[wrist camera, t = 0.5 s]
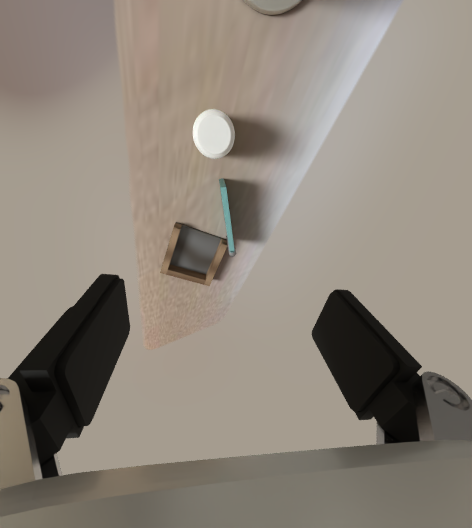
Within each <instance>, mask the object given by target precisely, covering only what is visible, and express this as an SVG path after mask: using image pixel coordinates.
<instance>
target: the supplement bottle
mask: <svg viewBox="0 0 472 528" xmlns="http://www.w3.org/2000/svg"><path fill="white" fill-rule="evenodd" d="M193 139H194V142H195V145H196V147H197V148H198V150H199V151H200V152H201V153H202V154H203V155H204V156H206V157H208V158H212V159H218V158H222V157H224V156H225V155H227V154H228V153H229V152H230V150H231V149H232V147H233V144H234V140H235V130H234V126H233V124H232V121H231V120H230V118H229V117H228V116H227V115H226V114H225V113H224V112H222V111H220V110H216V109H209V110H206V111H204V112H202V113H201V114H200V115H199V116H198V117H197V119H196V121H195V123H194V126H193Z"/></svg>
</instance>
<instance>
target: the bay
mask: <svg viewBox="0 0 472 528" xmlns="http://www.w3.org/2000/svg"><path fill="white" fill-rule="evenodd" d="M227 246H228V245H227V240H225V239H222V238H219V237H216V236H214V235H211V234H208V233H205V232H202V231H199V230H196V229H194V228H191V227H188V226H185V225H182V224H179V223H175V225H174V228H173V231H172V235H171V238H170V241H169V245H168V248H167V252H166V255H165V258H164V262H163V265H162V268H161V272H160V273H163V274H167V275H170V276H174V277H178V278H181V279H185V280H189V281H192V282H196V283H200V284H203V285H207V286H210V284H211V281H212V279H213V277H214V275H215V273H216V270H217V268H218V266H219V264H220V262H221V259H222V257H223V255H224V253H225V251H226V248H227Z"/></svg>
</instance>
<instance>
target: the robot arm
mask: <svg viewBox="0 0 472 528" xmlns="http://www.w3.org/2000/svg"><path fill="white" fill-rule="evenodd" d="M243 1H244V2H245V3H246V4H248V5H249V6H250V7H251V8H252V9H254V10H256V11H258V12H260V13H263V14H269V15H275V14H281V13H284V12H286V11H289V10H291V9H292V8H293V7H295V6H296V5H298V4H299V3H300V2H301V1H302V0H243ZM129 331H130V323H129V315H128V308H127V300H126V292H125V285H124V280H123V279H120V278H119V276H118V275H110V274H101V275H100V276H99V277H98V278H97V279H96V280H95V282H94V283H93V284H92V285H91V286H90V287H89V289H88V290H87V291H86V292H85V293H84V295H83V296H82V297H81V298H80V299H79V300H78V302H77V303H76V304H75V305H74V306H73V307H70V308H69V309H68V310H67V311H66V312H65V313H64V314H63V315H62V316H61V318H60V319H59V320H58V321H57V322H56V323H55V324H54V326H53V327H52V328H51V329H50V330H49V331H48V333H47V334H46V335H45V336H44V337H43V338H42V339H41V341H40V342H39V343H38V344H37V345H36V347H35V348H34V349H33V350H32V351H31V352H30V353H29V354H28V356H27V357H26V358H25V359H24V360H23V361H22V363H21V364H20V365H19V366H18V367H17V368H16V370H15V371H14V372H13V373H12V374H11V375H10V377H9V378H8V379H5V378H0V528H472V400H471V399H470V397H469V396H468V395H467V394H466V393H465V392H464V391H463V390H462V389H461V388H460V387H459V386H457V385H456V384H455V383H453V382H452V381H450V380H449V379H447V378H445V377H444V376H441V375H439V374H437V373H433V372H424V373H423V374H422V375H421V376H419V375H418V374H417V371H418V370H419V369H420V368H421V367H422V366H421V365H420V364H419V363H418V362H417V361H416V360H415V359H414V358H413V357H412V356H411V355H410V354H409V353H408V352H407V350H405V348H404V347H403V346H402V345H401V344H400V343H399V342H398V341H397V340H396V339H395V338H394V337H393V336H392V335H391V334H390V333H389V332H388V331H387V330H386V329H385V328H384V326H383V325H382V324H381V323H380V322H379V321H378V320H376V318H375V317H374V316H373V315H372V314H371V313H370V312H369V311H368V310H367V309H366V308H365V307H364V306H363V305H362V304H361V303H360V302H359V301H358V299H357V298H356V297H355V296H354V295H353V294H352V293H351V292H350V291H348V290H334V291H333V292H332V293H331V294H330V295H329V297H328V299H327V301H326V303H325V305H324V307H323V310H322V312H321V314H320V316H319V318H318V320H317V322H316V324H315V326H314V328H313V330H312V337H313V340H314V341H315V343H316V345H317V347H318V349H319V351H320V353H321V354H322V356H323V358H324V360H325V362H326V364H327V366H328V368H329V369H330V371H331V373H332V375H333V377H334V379H335V381H336V382H337V384H338V386H339V388H340V390H341V392H342V394H343V395H344V397H345V399H346V401H347V403H348V405H349V407H350V408H351V409H352V410H353V411H354V412H355V413H356V415H357V417H358V419H359V420H368V419H371V418H372V417H375V419H376V421H377V445H366V446H354V447H342V448H331V449H319V450H307V451H298V452H285V453H274V454H263V455H251V456H240V457H229V458H219V459H208V460H197V461H187V462H176V463H166V464H155V465H144V466H136V467H127V468H118V469H109V470H100V471H91V472H82V473H75V474H69V475H63V476H62V472H61V468H60V464H59V460H58V456H57V452H58V451H60V449H61V447H62V445H63V443H64V441H65V439H66V438H76V437H77V438H78V437H79V436H80V434H81V432H82V430H83V427H84V426H88V425H89V424H90V423H91V421H92V419H93V417H94V414H95V412H96V410H97V408H98V405H99V403H100V400H101V398H102V396H103V393H104V391H105V389H106V386H107V384H108V381H109V379H110V377H111V375H112V372H113V370H114V368H115V365H116V363H117V361H118V358H119V356H120V354H121V351H122V349H123V347H124V344H125V342H126V339H127V337H128V335H129Z"/></svg>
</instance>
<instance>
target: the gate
mask: <svg viewBox="0 0 472 528" xmlns="http://www.w3.org/2000/svg"><path fill="white" fill-rule="evenodd" d="M219 182H220V189H221V196H222V203H223V210H224V217H225V223H226V230H227V236H226V237H227V244H228V250H229V255H230V256H232V257H233V256H235V255H236V251H235V246H234V241H233V235H232V228H231V220H230V213H229V205H228V197H227V190H226V185H225V181H224V179H219Z"/></svg>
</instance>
